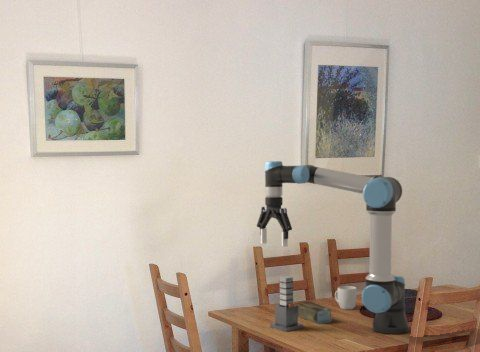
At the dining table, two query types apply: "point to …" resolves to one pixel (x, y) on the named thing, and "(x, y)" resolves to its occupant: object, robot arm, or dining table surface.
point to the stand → (286, 318)
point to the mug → (346, 297)
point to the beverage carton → (314, 312)
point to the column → (286, 291)
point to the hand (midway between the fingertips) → (274, 245)
